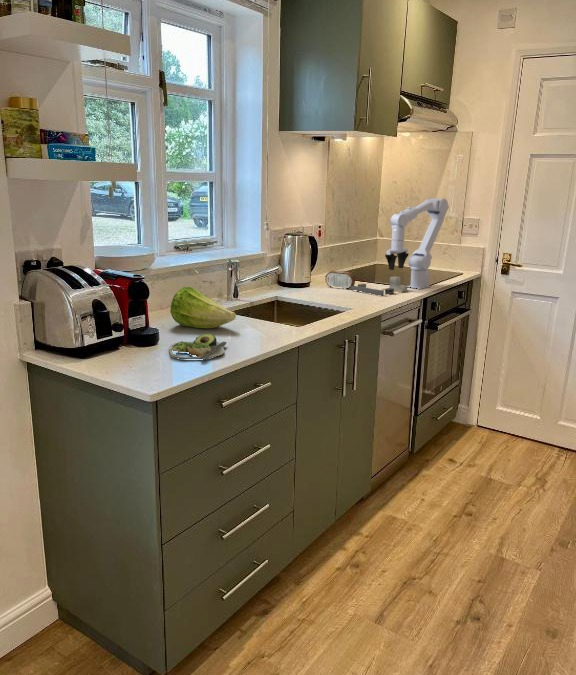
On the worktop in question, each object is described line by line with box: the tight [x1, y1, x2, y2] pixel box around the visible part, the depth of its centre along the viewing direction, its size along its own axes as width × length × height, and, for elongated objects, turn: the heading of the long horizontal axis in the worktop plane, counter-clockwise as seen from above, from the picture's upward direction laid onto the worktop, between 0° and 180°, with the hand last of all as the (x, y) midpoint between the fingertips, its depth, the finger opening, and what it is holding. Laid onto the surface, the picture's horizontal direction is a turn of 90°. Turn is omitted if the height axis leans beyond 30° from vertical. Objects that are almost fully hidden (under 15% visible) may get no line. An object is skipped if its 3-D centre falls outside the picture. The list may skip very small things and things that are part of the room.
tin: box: [325, 270, 356, 289], centre depth 281 cm, size 15×3×8 cm, turn 59°
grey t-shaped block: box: [388, 276, 408, 293], centre depth 275 cm, size 4×8×6 cm, turn 45°
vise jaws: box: [350, 283, 395, 297], centre depth 272 cm, size 9×20×2 cm, turn 45°
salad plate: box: [168, 333, 228, 361], centre depth 175 cm, size 19×18×5 cm
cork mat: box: [381, 287, 409, 294], centre depth 277 cm, size 8×10×1 cm
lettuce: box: [169, 286, 237, 329], centre depth 204 cm, size 14×24×15 cm
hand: (396, 268), depth 274 cm, fingers open, 7 cm apart
